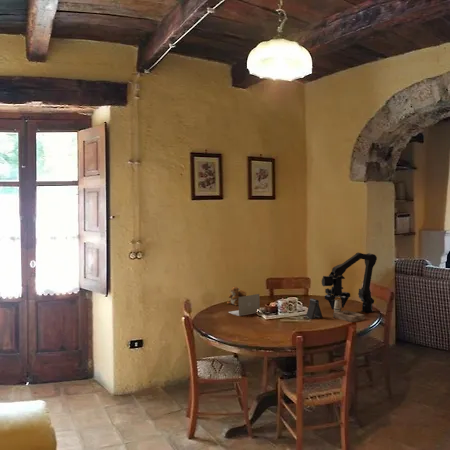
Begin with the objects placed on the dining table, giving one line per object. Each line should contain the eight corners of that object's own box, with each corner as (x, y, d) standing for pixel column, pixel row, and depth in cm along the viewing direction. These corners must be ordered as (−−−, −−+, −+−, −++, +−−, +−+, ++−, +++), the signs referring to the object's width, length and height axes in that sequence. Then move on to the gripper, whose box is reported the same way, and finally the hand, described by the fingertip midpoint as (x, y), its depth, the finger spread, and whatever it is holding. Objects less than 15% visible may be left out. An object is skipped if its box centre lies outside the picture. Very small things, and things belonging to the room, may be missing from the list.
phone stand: (311, 319, 315) (311, 300, 315) (305, 317, 321) (305, 299, 320) (322, 317, 319) (322, 299, 319) (317, 315, 325) (316, 297, 324)
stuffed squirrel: (225, 304, 366) (225, 286, 365) (240, 301, 374) (240, 284, 373) (233, 306, 358) (233, 288, 357) (248, 303, 366) (248, 286, 365)
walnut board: (346, 314, 326) (346, 310, 325) (364, 319, 312) (364, 314, 312) (333, 317, 319) (333, 312, 319) (351, 322, 306) (351, 317, 306)
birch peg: (337, 312, 333) (337, 299, 332) (342, 313, 329) (342, 300, 328) (332, 313, 330) (332, 300, 330) (337, 314, 327) (337, 301, 326)
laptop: (248, 309, 348) (248, 291, 347) (259, 312, 338) (259, 293, 337) (228, 313, 337) (227, 294, 337) (239, 316, 327) (238, 297, 326)
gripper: (338, 282, 340) (338, 304, 341) (318, 285, 330) (319, 308, 331) (350, 284, 331) (350, 307, 332) (330, 287, 321) (330, 311, 322)
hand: (337, 308), depth 329 cm, fingers open, 9 cm apart
